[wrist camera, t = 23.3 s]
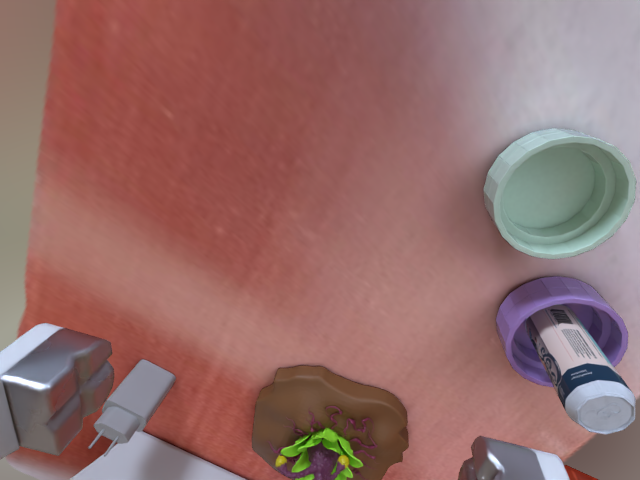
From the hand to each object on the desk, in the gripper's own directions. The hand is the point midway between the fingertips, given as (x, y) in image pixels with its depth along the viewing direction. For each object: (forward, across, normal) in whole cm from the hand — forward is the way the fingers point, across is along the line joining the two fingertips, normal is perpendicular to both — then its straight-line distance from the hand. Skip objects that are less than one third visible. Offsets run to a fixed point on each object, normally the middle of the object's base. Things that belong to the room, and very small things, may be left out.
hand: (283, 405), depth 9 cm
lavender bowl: (+31, -22, +14) cm, 40 cm away
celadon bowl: (+31, -16, +1) cm, 35 cm away
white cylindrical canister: (+31, -22, +14) cm, 40 cm away
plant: (+31, -3, +38) cm, 49 cm away
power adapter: (+31, +22, +36) cm, 52 cm away
